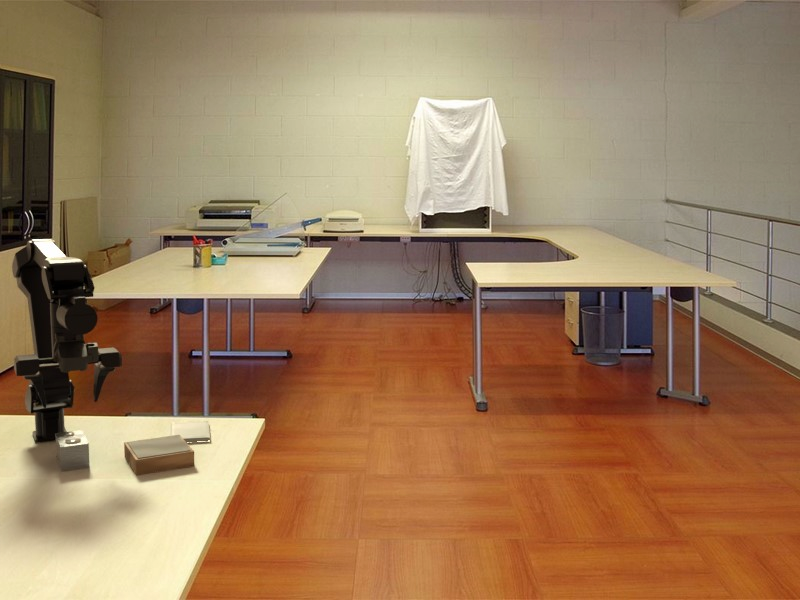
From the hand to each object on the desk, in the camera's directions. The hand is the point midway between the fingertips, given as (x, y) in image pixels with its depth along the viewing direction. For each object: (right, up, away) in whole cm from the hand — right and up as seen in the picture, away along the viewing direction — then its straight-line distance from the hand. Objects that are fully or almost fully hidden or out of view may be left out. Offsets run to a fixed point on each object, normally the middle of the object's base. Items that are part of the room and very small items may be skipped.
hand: (70, 404), depth 155 cm
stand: (+16, -12, +3) cm, 20 cm away
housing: (0, -12, +2) cm, 12 cm away
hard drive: (+18, -10, +20) cm, 29 cm away
